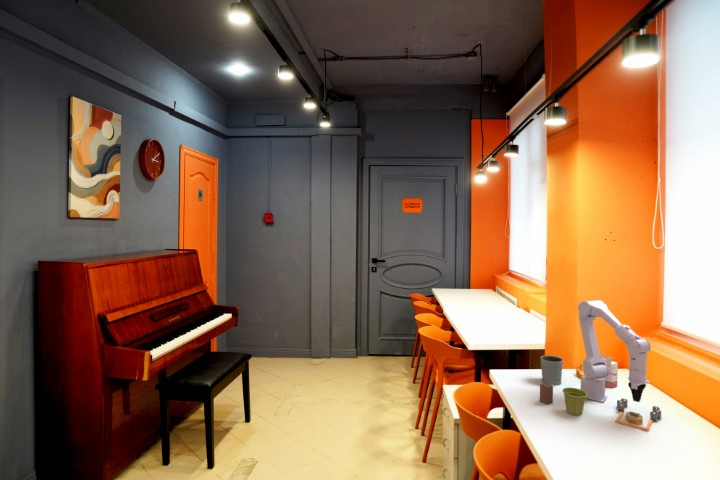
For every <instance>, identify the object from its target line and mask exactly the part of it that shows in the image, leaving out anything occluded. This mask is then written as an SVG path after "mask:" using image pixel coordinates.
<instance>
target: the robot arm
mask: <svg viewBox="0 0 720 480" xmlns="http://www.w3.org/2000/svg"><path fill="white" fill-rule="evenodd" d="M577 311H578V321H579V325H580V331H581V335H582V340H583V346H584V350H585V355H586V357H585V359H584V360H583V361H582V363H583V373H584V375H585V376H582V378H581V379H580V390H583V391H585V392H586V393H587V394H588V395H587V397H586V399H587V400H588V399H589V400H591V401H595V402H599V403H605V401H606V400H607V398H608V396H607V395H606V386H605V379H606V377H607V376H608V375H609V368H608V366H607V364H606V361H605V359H606V358H604V357H601V356H600V348H599V344H598V338H597V335H596V331H595V330H596V329H595V326H594V320H595V319H596V318H597V317H599V318H601V319H602V320H604V322H605V323H607V324H608V325H609V326H610V327H611V328H613V329H614V335H616V336H617V337H618V338H619V339H620V340H621V341H622V342H623V343H624V344H625V345H626V346H625V347H626V349H627V352H628V356H629V367H628V368H629V369H628V378H627V379H628V381H629V382H628V383H627V384H628V388H629V389H630V392H631V396H632V400H633V401H634V402H637V403H640V402H641V400H642V395H643V393H644V390H645V388H646V387H647V385H649V384H650V380H648V379H647V359H648V358H647V357H648V356H647V355H648V353H649V352H650V351H651V344H650V342H649V340H648V339H647V338H644V337H641V336H639V335H638V334H637V333H636V332H635V331H633V330H632V328H631V326H630V325H627V324H623V323H621V322H620V320H619V319H617V318H616V316H615V315H614V314H613V313H612V312H611V310H610V309H608V305H607V304H606V303H605V302H604V301H603V300H600V299H596V300H583V301H580V303H579V304H578V305H577ZM595 363H596V364H595Z"/></svg>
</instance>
